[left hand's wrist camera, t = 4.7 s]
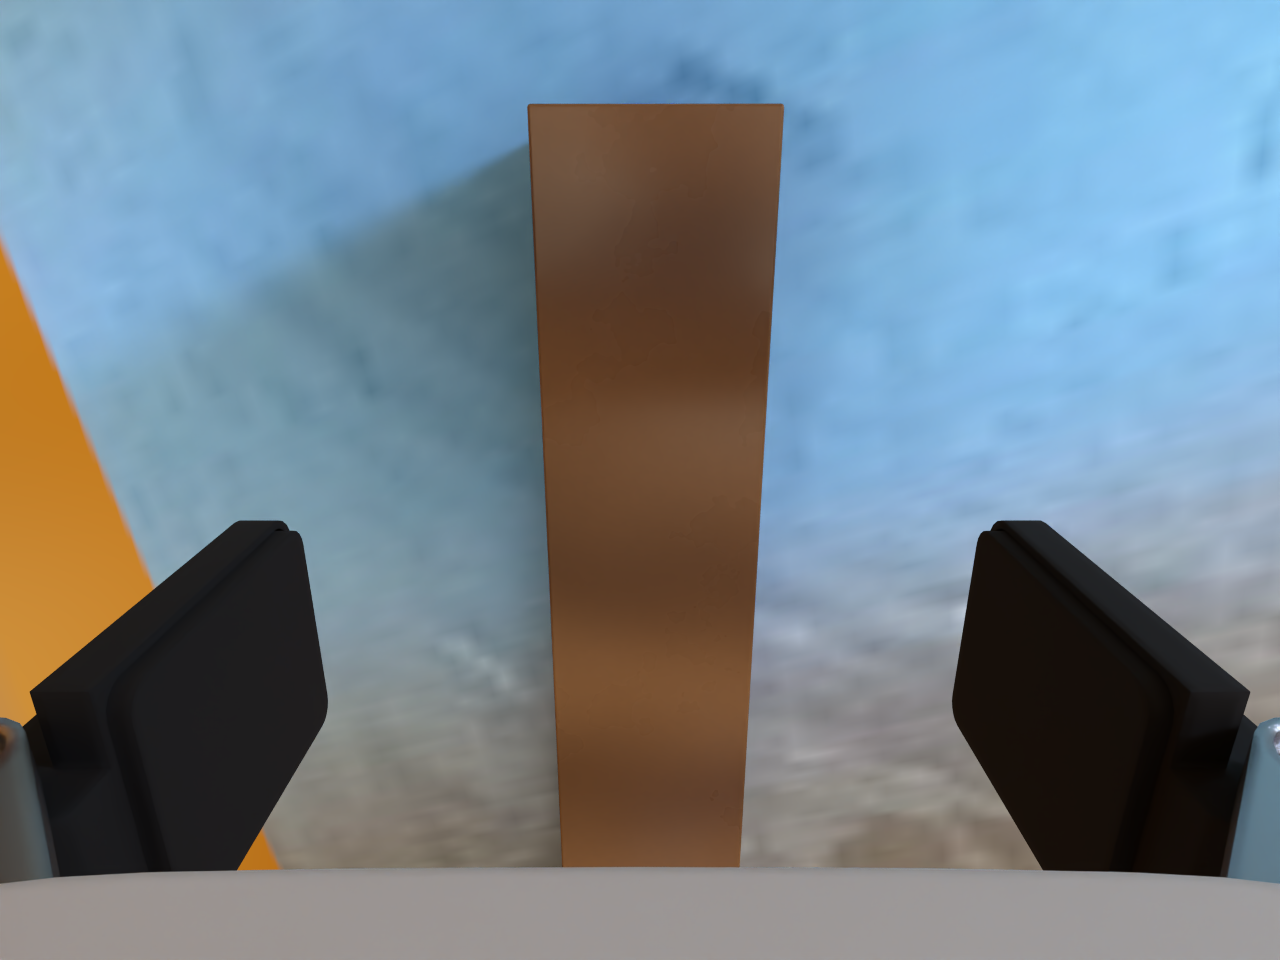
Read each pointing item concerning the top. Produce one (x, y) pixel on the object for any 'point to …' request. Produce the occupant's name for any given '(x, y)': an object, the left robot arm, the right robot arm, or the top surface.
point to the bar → (653, 462)
